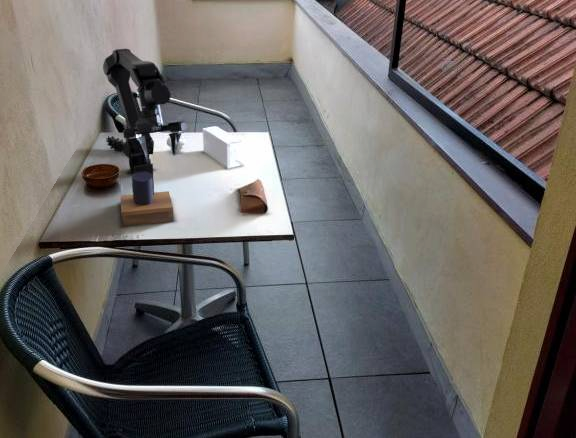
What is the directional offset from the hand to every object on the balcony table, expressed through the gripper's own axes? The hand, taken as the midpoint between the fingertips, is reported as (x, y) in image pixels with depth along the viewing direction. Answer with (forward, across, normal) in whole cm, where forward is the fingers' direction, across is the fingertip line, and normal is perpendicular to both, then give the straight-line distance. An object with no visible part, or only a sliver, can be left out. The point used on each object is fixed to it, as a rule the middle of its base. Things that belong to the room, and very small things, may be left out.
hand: (160, 157), depth 168 cm
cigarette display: (+6, +8, +35) cm, 36 cm away
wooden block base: (+14, -2, -11) cm, 18 cm away
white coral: (-1, -8, +36) cm, 37 cm away
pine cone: (-3, -27, +32) cm, 42 cm away
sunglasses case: (+17, +26, +3) cm, 31 cm away
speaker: (+11, -1, -14) cm, 17 cm away
